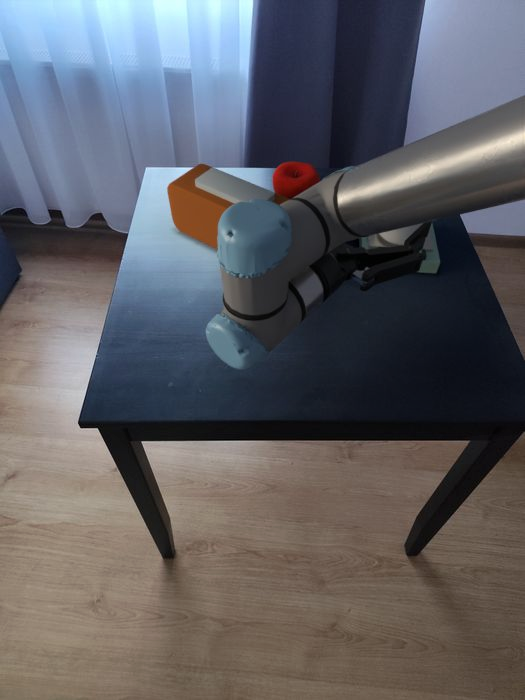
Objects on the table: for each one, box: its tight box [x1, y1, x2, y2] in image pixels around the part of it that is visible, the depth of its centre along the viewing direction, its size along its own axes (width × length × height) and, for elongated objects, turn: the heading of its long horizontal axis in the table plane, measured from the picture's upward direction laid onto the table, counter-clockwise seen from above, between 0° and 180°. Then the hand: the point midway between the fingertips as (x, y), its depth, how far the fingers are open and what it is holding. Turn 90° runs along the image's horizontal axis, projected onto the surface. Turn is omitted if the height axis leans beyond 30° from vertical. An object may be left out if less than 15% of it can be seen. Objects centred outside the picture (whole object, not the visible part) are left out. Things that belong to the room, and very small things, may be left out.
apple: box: [272, 161, 320, 199], centre depth 92 cm, size 9×9×8 cm
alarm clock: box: [166, 163, 289, 250], centre depth 83 cm, size 24×8×11 cm, turn 54°
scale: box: [358, 223, 441, 274], centre depth 85 cm, size 13×13×4 cm
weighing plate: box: [367, 230, 433, 252], centre depth 85 cm, size 10×11×1 cm
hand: (388, 209), depth 74 cm, fingers open, 13 cm apart
